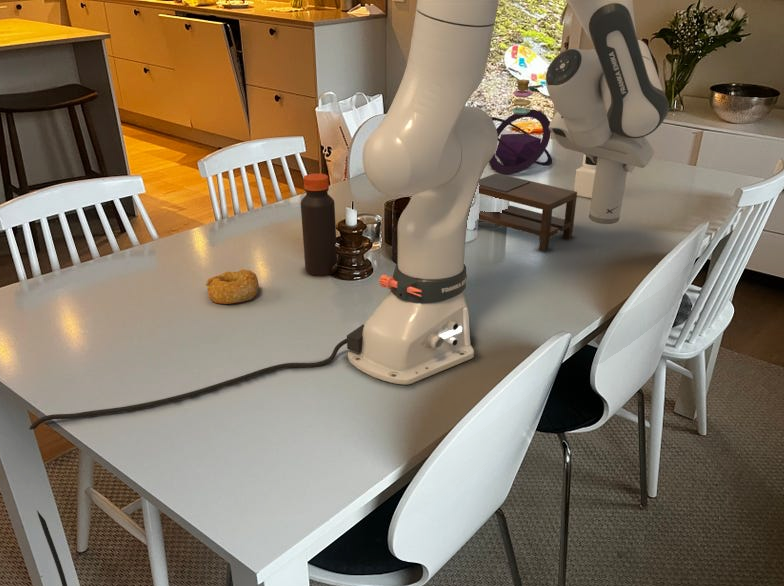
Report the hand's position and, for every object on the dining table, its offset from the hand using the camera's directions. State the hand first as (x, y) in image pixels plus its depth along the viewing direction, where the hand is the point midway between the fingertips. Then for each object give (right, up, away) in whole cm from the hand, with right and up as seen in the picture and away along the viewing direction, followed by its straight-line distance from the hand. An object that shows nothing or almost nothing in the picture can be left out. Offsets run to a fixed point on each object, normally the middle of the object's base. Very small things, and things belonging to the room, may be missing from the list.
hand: (613, 164), depth 151 cm
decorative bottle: (-10, +19, +75) cm, 78 cm away
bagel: (-76, -27, -5) cm, 81 cm away
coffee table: (-16, -9, +26) cm, 32 cm away
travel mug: (-1, -10, +5) cm, 12 cm away
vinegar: (-60, -21, +6) cm, 64 cm away
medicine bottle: (+7, +5, +52) cm, 53 cm away
